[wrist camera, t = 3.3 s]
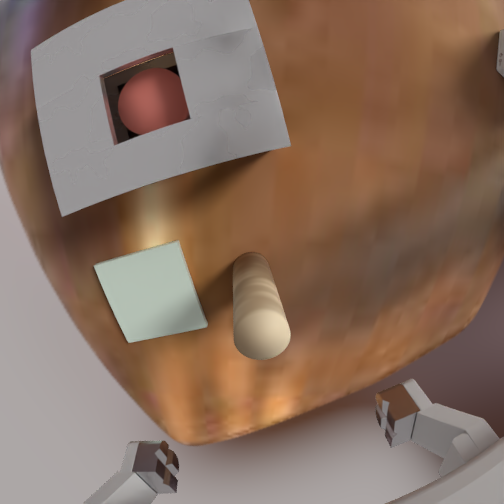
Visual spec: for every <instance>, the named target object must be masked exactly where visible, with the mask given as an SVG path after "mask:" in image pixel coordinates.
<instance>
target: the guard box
mask: <svg viewBox="0 0 504 504" xmlns="http://www.w3.org/2000/svg"><path fill="white" fill-rule="evenodd" d="M171 52H174V53H171ZM168 53H171V54H168ZM165 54H167V55H165ZM162 55H164V56H162ZM159 56H161V57H159ZM156 57H158V58H156ZM153 58H156V59H153ZM150 59H153V60H150ZM147 60H150V61H147ZM31 61H32V74H33V84H34V93H35V100H36V108H37V114H38V120H39V126H40V132H41V137H42V142H43V147H44V152H45V156H46V160H47V165H48V169H49V173H50V177H51V181H52V184H53V188H54V192H55V195H56V199H57V202H58V205H59V209H60V212H61V215H62V217H63V216H65V215H68V214H70V213H73V212H75V211H78V210H80V209H83V208H85V207H88V206H90V205H93V204H95V203H98V202H101V201H103V200H106V199H109V198H111V197H114V196H117V195H120V194H122V193H125V192H128V191H131V190H134V189H137V188H140V187H143V186H146V185H148V184H152V183H155V182H158V181H161V180H164V179H167V178H170V177H173V176H177V175H180V174H183V173H186V172H190V171H193V170H197V169H200V168H204V167H207V166H211V165H214V164H218V163H222V162H225V161H229V160H233V159H237V158H241V157H245V156H249V155H253V154H257V153H261V152H265V151H270V150H274V149H279V148H283V147H288V146H291V144H290V140H289V136H288V132H287V128H286V124H285V120H284V116H283V113H282V109H281V105H280V101H279V98H278V94H277V90H276V87H275V83H274V80H273V76H272V73H271V69H270V66H269V63H268V59H267V56H266V53H265V49H264V46H263V43H262V40H261V36H260V33H259V30H258V27H257V24H256V21H255V18H254V15H253V12H252V9H251V6H250V3H249V0H125V1H123V2H120V3H118V4H115V5H113V6H111V7H108V8H106V9H104V10H102V11H100V12H97V13H95V14H93V15H91V16H89V17H87V18H85V19H83V20H81V21H79V22H77V23H75V24H74V25H72V26H70V27H68V28H66V29H65V30H63V31H61V32H59V33H58V34H56V35H54V36H52V37H51V38H49V39H48V40H46V41H44V42H43V43H41V44H40V45H38V46H37V47H35V48H34V49H32V50H31ZM145 61H147V62H145ZM142 62H144V63H142ZM139 63H142V64H139ZM137 64H139V65H137ZM134 65H136V66H134ZM132 66H134V67H132ZM129 67H131V68H129ZM127 68H129V69H127ZM151 68H163V69H167V70H170V71H172V72H173V73H175V74H176V75H177V76H178V77H179V78H180V79H181V83H182V87H183V91H184V95H185V99H186V103H187V106H188V110H189V114H190V118H191V119H189V120H185V121H182V122H179V123H176V124H172V125H169V126H166V127H163V128H160V129H157V130H155V131H152V132H149V133H146V134H143V135H140V134H137V133H134V132H132V131H131V130H129V129H128V128H127V127H126V126H125V125H124V124H123V122H122V120H121V118H120V116H119V111H118V100H119V96H120V93H121V91H122V89H123V87H124V86H125V84H126V83H127V82H128V81H129V80H130V79H131V78H132V77H133V76H134V75H136V74H138V73H139V72H141V71H144V70H147V69H151ZM124 69H126V70H124ZM122 70H124V71H122ZM119 71H121V72H119ZM117 72H119V73H117ZM115 73H117V74H115ZM112 74H114V75H112ZM110 75H112V76H110ZM108 76H110V77H108ZM105 77H107V78H105ZM104 78H105V79H104Z"/></svg>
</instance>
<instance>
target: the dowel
mask: <svg viewBox="0 0 504 504" xmlns="http://www.w3.org/2000/svg"><path fill="white" fill-rule="evenodd" d="M233 323H234V343H235V346H236V348H237V349H238V350H239V352H240V353H242V354H243V355H244V356H246V357H248V358H251V359H257V360H264V359H269V358H272V357H275V356H277V355H279V354H280V353H281V352H282V351H284V349H285V348H286V347H287V345H288V343H289V341H290V329H289V326H288V323H287V320H286V316H285V313H284V310H283V307H282V304H281V301H280V298H279V295H278V292H277V289H276V286H275V282H274V279H273V276H272V273H271V270H270V267H269V264H268V262H267V260H266V259H265V257H263V256H262V255H261V254H259V253H255V252H248V253H244V254H242V255H241V256H239V257H238V258H237V259H236V261H235V263H234V265H233Z"/></svg>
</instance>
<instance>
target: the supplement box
mask: <svg viewBox="0 0 504 504" xmlns="http://www.w3.org/2000/svg"><path fill="white" fill-rule="evenodd" d="M496 70H497V71H498V72H499V73H500V74H501V75H502V76H503V77H504V29H503V30H500V33H499V47H498V57H497V67H496Z"/></svg>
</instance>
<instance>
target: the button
mask: <svg viewBox="0 0 504 504" xmlns="http://www.w3.org/2000/svg"><path fill="white" fill-rule="evenodd" d="M118 111H119V116H120V118H121V120H122V122H123V124H124V125H125V126H126V127H127V128H128V129H129V130H131V131H132V132H134V133H137V134H140V135H143V134H146V133H149V132H152V131H155V130H157V129H160V128H163V127H166V126H169V125H172V124H176V123H179V122H182V121H185V120H189V119H190V114H189V110H188V106H187V103H186V99H185V95H184V91H183V87H182V83H181V79H180V78H179V77H178V76H177V75H176V74H175V73H173V72H172V71H170V70H167V69H163V68H151V69H147V70H144V71H141V72H139V73H138V74H136V75H134V76H133V77H132V78H131V79H130V80H129V81H128V82H127V83H126V84H125V86H124V87H123V89H122V91H121V93H120V96H119V100H118Z"/></svg>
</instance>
